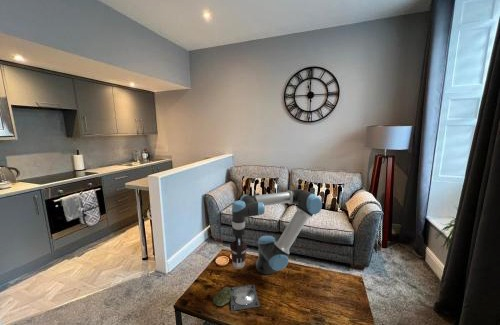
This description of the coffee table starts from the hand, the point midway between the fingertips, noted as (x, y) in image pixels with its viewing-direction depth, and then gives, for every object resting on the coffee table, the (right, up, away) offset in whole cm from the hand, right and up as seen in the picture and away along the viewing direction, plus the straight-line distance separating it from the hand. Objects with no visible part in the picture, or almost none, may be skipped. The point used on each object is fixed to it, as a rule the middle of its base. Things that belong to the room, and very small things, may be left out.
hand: (238, 261), depth 128 cm
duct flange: (+3, -20, -2) cm, 21 cm away
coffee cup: (0, -2, 0) cm, 2 cm away
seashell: (-9, -20, -3) cm, 23 cm away
